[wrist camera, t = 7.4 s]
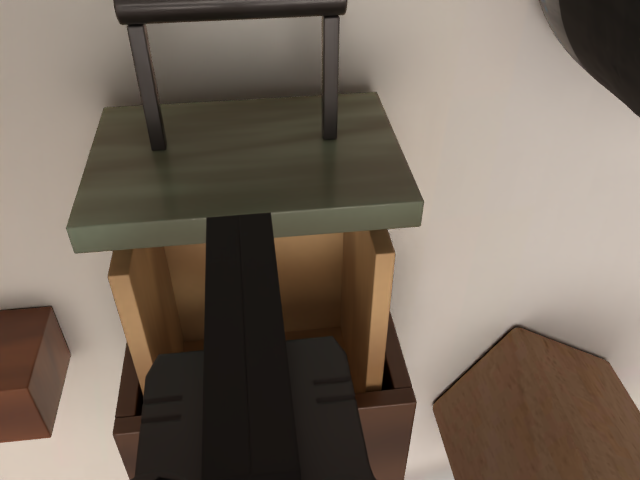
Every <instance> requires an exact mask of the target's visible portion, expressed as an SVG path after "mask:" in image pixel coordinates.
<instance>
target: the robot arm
mask: <svg viewBox="0 0 640 480" xmlns="http://www.w3.org/2000/svg"><path fill="white" fill-rule="evenodd" d="M131 480H376V478H375V477H374V475H373V472H372V469H371V466H370V463H369V458H368V454H367V449H366V444H365V439H364V435H363V430H362V425H361V420H360V416H359V411H358V406H357V401H356V399H355V392H354V387H353V382H352V379H351V373H350V368H349V363H348V358H347V354H346V353H345V352H344V350H343V349H342V348H341V346H340V345H339V344H338V342H337V341H336V340H335V338H334V337H333V336H325V337H315V338H305V339H295V340H286V339H285V331H284V322H283V313H282V304H281V296H280V287H279V278H278V270H277V261H276V252H275V244H274V235H273V226H272V217H271V212H270V213H257V214H244V215H232V216H219V217H206V263H205V315H204V350H199V351H189V352H179V353H169V354H159V355H158V356H157V358H156V359H155V361H154V363H153V365H152V366H151V368H150V370H149V371H148V373H147V375H146V377H145V386H144V395H143V405H142V414H141V424H140V432H139V441H138V450H137V459H136V469H135V477H134V478H132V479H131Z"/></svg>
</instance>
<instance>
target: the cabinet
mask: <svg viewBox="0 0 640 480" xmlns="http://www.w3.org/2000/svg"><path fill="white" fill-rule="evenodd" d="M355 399H356V401H357V406H358V411H359V416H360V420H361V425H362V430H363V435H364V439H365V444H366V449H367V454H368V458H369V463H370V466H371V469H372V472H373V475H374V477H375V478H376V480H404V475H405V469H406V463H407V457H408V451H409V445H410V439H411V433H412V427H413V421H414V415H415V409H416V403H417V402H416V398H415V395H414V391H413V389H412V384H411V381H410V377H409V374H408V371H407V367H406V364H405V360H404V357H403V354H402V350H401V347H400V343H399V340H398V337H397V333H396V330H395V326H394V323H393V319H392V316H391V313H390V311H389V320H388V330H387V340H386V350H385V360H384V369H383V379H382V389H381V391H373V392H364V393H355ZM142 405H143V393H142V390H141V386H140V383H139V380H138V376H137V373H136V370H135V366H134V363H133V360H132V356H131V353H130V350H129V346H128V343H127V344H126V350H125V356H124V363H123V369H122V376H121V382H120V389H119V395H118V402H117V408H116V415H115V418H116V419H115V422H114V429H113V437H114V439H115V442H116V445H117V447H118V450H119V453H120V455H121V458H122V461H123V463H124V466H125V469H126V471H127V474H128V477H129V479H130V480H131V479H132V478H134V477H135V469H136V459H137V450H138V441H139V432H140V424H141V414H142Z"/></svg>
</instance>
